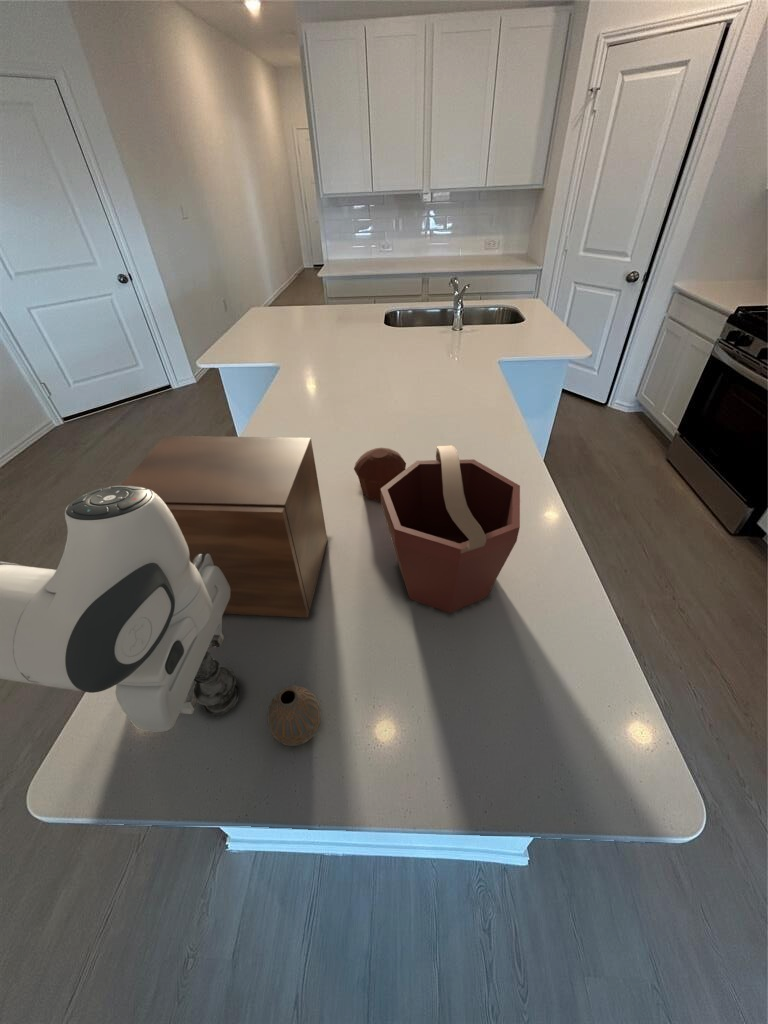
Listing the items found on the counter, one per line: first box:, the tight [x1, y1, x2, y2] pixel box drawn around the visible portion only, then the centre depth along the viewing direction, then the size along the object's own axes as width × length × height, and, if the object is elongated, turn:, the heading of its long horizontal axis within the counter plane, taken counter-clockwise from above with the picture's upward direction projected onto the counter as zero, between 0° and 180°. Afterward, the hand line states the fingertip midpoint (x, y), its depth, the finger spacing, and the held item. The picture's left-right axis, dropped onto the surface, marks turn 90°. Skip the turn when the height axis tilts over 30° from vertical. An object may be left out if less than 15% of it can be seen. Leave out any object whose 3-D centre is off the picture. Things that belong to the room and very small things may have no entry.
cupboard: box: [120, 435, 328, 612], centre depth 76 cm, size 18×26×24 cm
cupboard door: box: [166, 504, 310, 618], centre depth 67 cm, size 6×26×24 cm, turn 85°
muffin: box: [353, 447, 407, 503], centre depth 99 cm, size 12×11×10 cm
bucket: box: [380, 445, 521, 614], centre depth 73 cm, size 24×22×25 cm
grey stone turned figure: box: [192, 650, 240, 716], centre depth 61 cm, size 6×6×12 cm
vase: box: [267, 685, 322, 747], centre depth 58 cm, size 7×7×9 cm
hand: (203, 673), depth 59 cm, fingers open, 8 cm apart
